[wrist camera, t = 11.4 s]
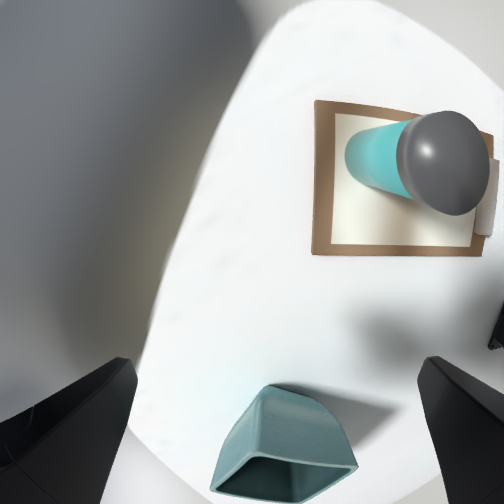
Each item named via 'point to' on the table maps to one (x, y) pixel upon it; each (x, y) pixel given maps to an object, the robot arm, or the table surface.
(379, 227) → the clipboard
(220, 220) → the table surface
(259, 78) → the table surface
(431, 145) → the teal capped bottle
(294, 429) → the flower pot
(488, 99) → the table surface
